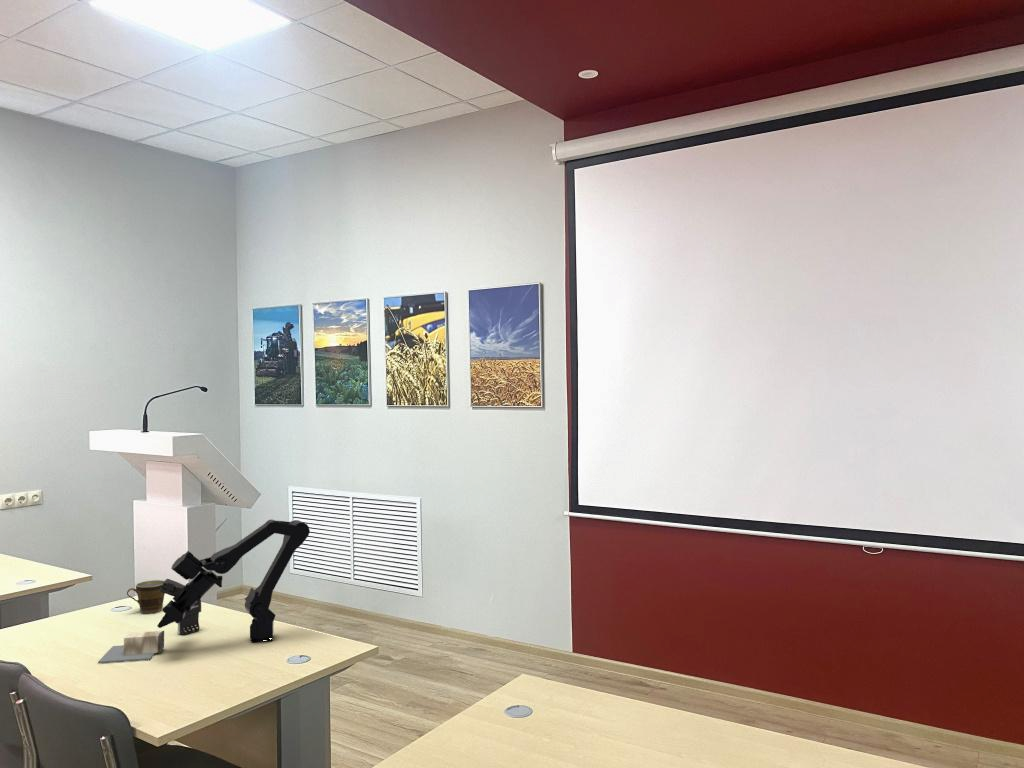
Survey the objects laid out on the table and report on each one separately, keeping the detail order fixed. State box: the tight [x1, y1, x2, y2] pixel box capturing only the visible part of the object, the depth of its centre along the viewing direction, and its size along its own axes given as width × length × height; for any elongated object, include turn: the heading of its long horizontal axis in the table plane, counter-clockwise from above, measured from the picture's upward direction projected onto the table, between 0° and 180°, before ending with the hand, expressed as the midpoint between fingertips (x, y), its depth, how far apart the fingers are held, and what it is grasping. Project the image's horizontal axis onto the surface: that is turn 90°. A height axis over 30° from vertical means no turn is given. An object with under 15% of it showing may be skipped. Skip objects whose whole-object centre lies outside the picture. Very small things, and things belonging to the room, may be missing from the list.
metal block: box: [123, 630, 165, 655], centre depth 228 cm, size 5×5×10 cm
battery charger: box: [177, 598, 202, 635], centre depth 248 cm, size 7×4×11 cm, turn 147°
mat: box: [97, 644, 156, 664], centre depth 227 cm, size 14×14×1 cm
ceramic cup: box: [126, 579, 165, 615], centre depth 271 cm, size 13×10×10 cm
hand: (158, 626), depth 229 cm, fingers closed
